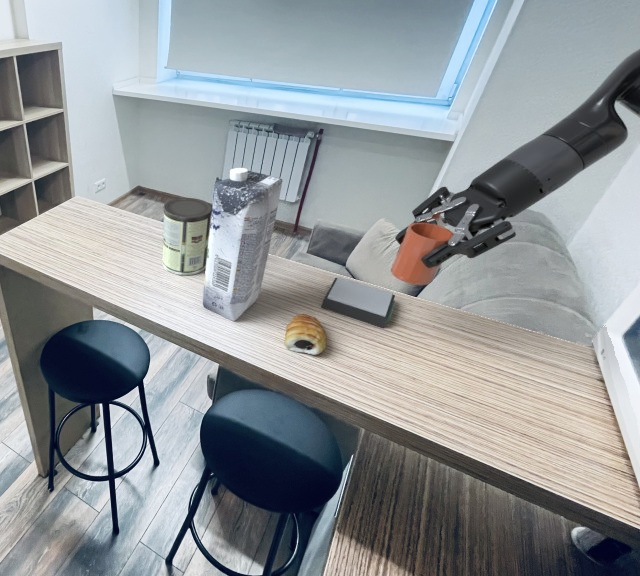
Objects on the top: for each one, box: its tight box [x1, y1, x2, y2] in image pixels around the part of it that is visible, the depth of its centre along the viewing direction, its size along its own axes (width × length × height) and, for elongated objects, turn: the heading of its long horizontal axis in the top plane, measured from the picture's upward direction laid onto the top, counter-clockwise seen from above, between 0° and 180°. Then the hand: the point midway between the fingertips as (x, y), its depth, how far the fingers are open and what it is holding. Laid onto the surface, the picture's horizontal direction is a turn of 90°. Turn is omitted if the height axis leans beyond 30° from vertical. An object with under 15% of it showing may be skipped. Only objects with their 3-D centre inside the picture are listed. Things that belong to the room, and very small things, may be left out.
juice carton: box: [202, 167, 283, 322], centre depth 73 cm, size 9×10×27 cm
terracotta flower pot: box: [390, 222, 455, 286], centre depth 65 cm, size 6×6×8 cm
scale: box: [320, 276, 397, 329], centre depth 79 cm, size 11×9×3 cm
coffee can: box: [161, 197, 213, 276], centre depth 90 cm, size 10×10×14 cm
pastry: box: [283, 313, 327, 356], centre depth 72 cm, size 9×7×4 cm
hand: (411, 252), depth 64 cm, fingers closed on terracotta flower pot, 6 cm apart
